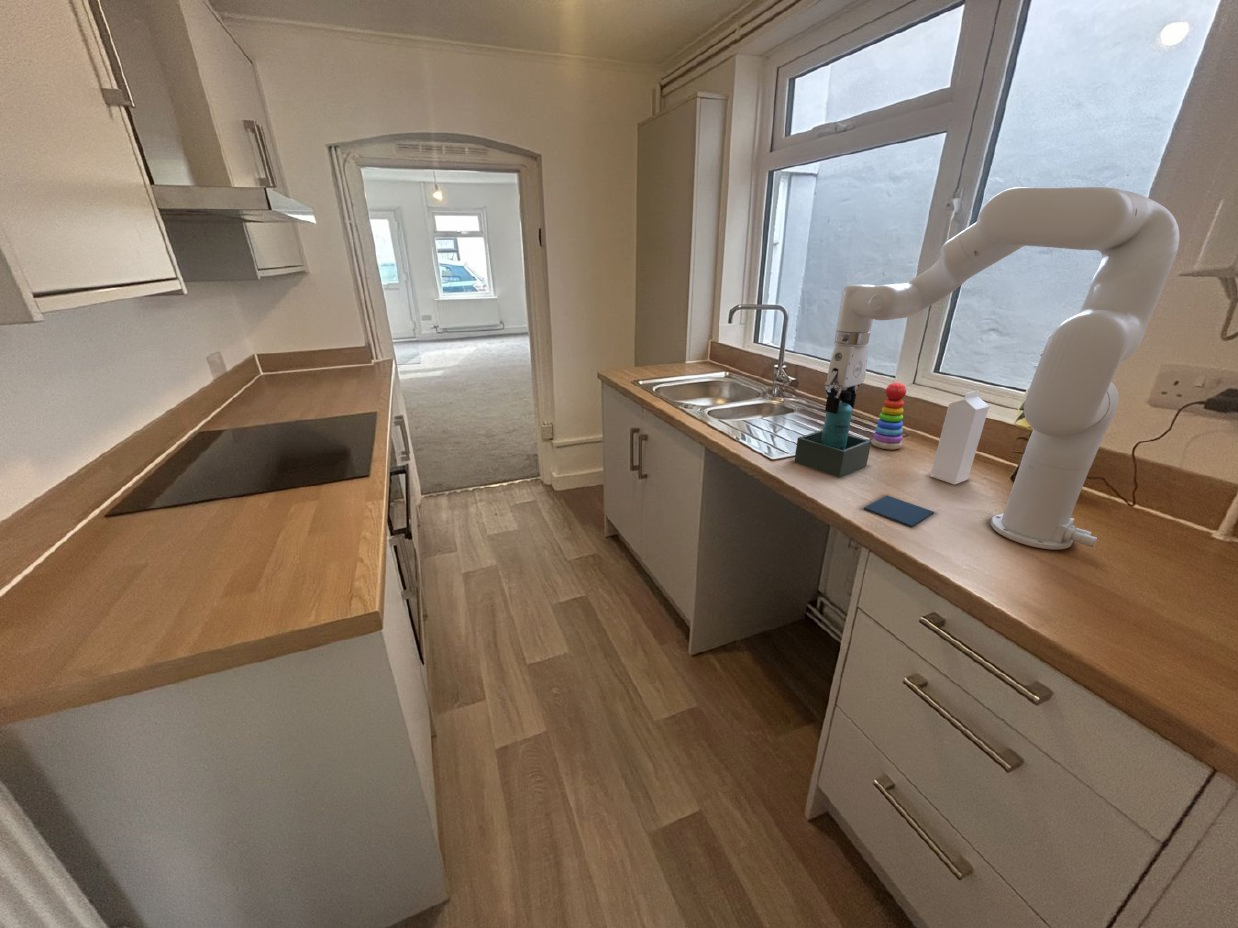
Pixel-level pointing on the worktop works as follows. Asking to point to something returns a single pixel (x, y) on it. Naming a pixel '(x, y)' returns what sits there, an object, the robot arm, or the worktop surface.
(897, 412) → the stacking toy
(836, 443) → the beverage bottle
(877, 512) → the mat
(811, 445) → the basket
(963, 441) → the milk
